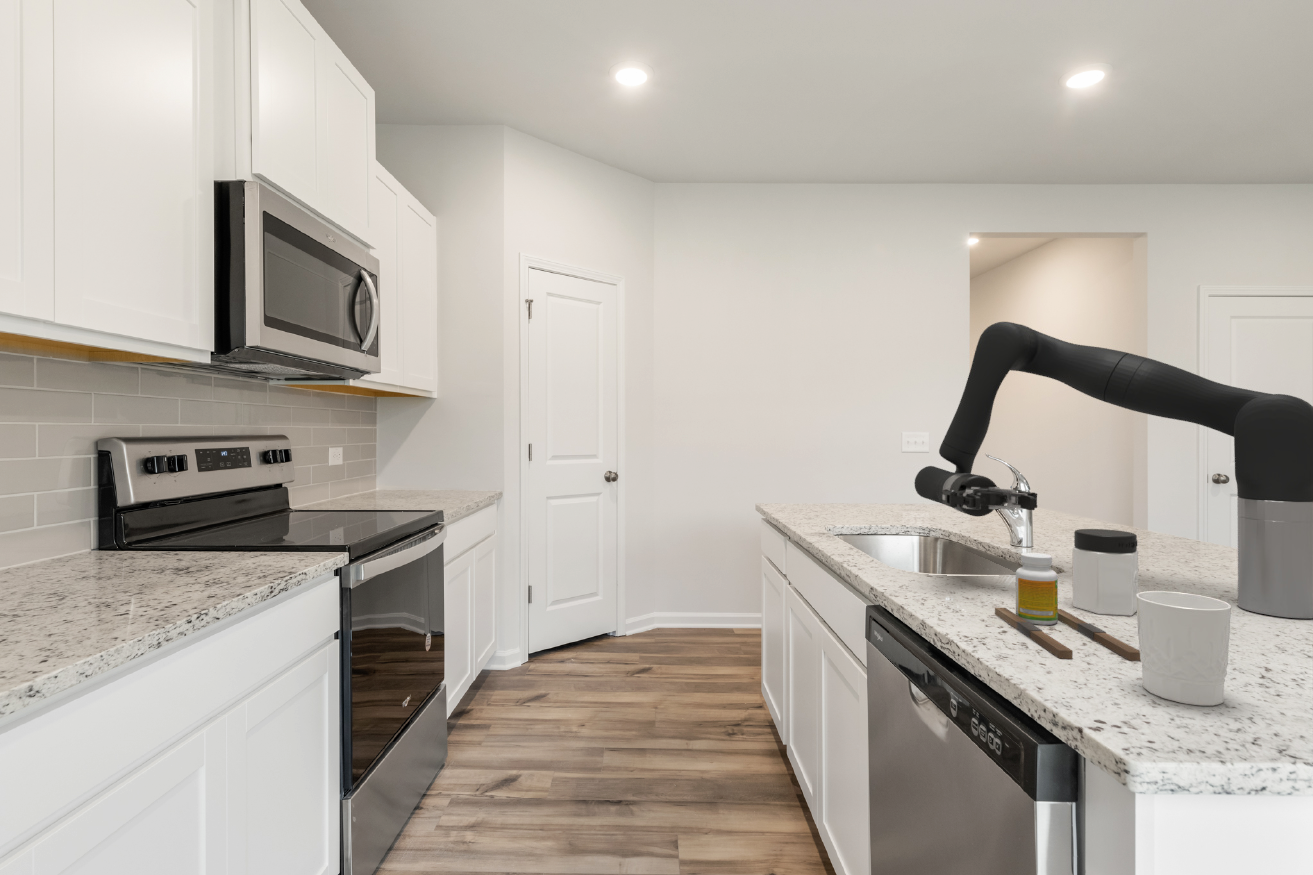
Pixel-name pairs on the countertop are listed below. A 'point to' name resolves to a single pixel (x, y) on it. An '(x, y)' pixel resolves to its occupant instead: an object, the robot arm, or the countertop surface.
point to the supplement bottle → (1037, 590)
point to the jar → (1105, 571)
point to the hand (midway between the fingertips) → (1005, 503)
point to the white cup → (1183, 646)
